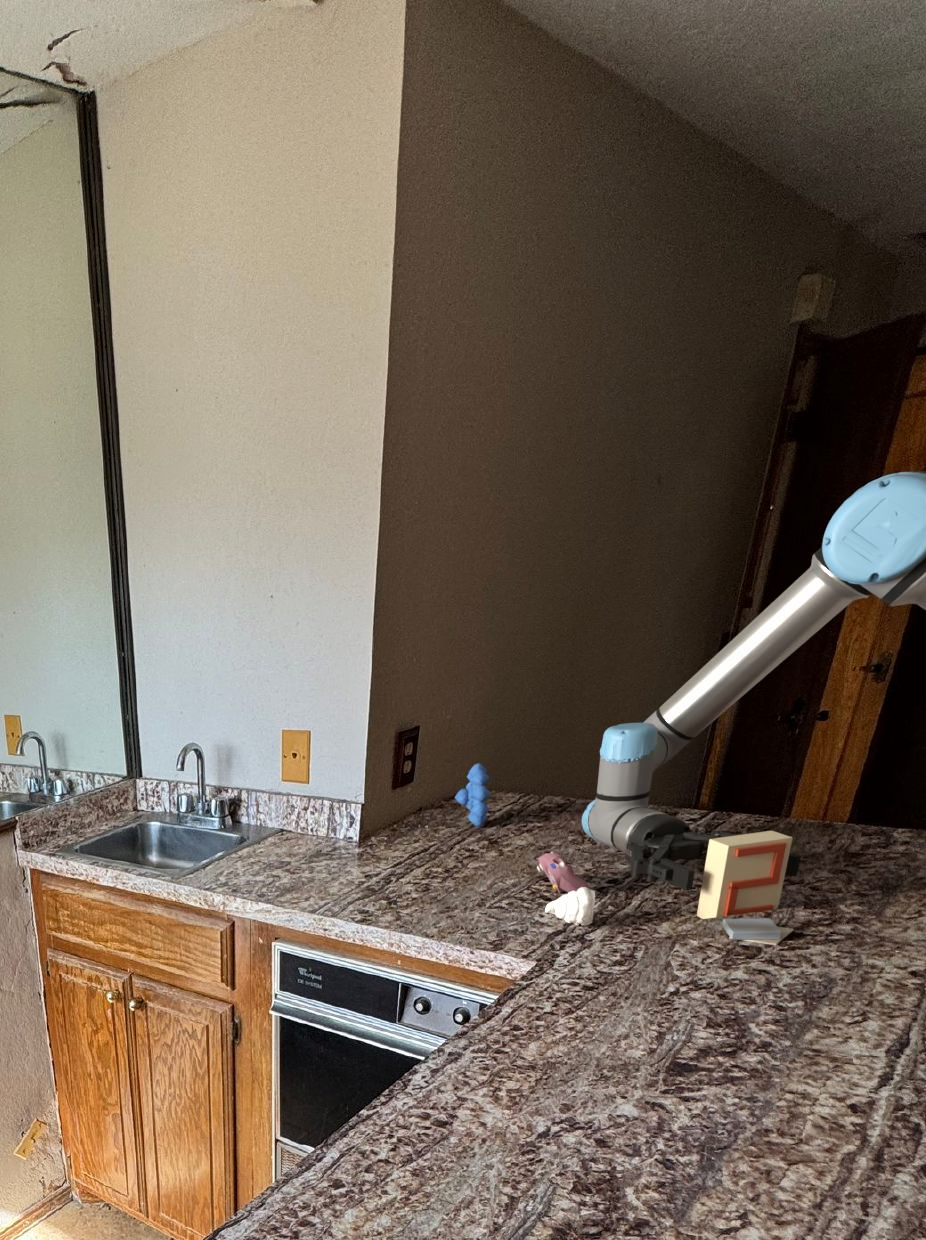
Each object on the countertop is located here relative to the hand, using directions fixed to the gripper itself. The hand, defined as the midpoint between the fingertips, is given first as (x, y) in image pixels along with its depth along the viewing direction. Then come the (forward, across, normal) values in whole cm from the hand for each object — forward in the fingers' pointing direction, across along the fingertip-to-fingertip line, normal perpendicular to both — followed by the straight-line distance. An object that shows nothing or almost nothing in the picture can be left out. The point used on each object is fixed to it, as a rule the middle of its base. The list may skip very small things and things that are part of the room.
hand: (743, 873), depth 119 cm
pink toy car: (-20, +14, -6) cm, 25 cm away
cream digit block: (0, 0, -6) cm, 6 cm away
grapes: (-65, +11, -6) cm, 66 cm away
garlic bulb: (-5, +20, -6) cm, 22 cm away
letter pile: (+11, +4, -6) cm, 13 cm away
